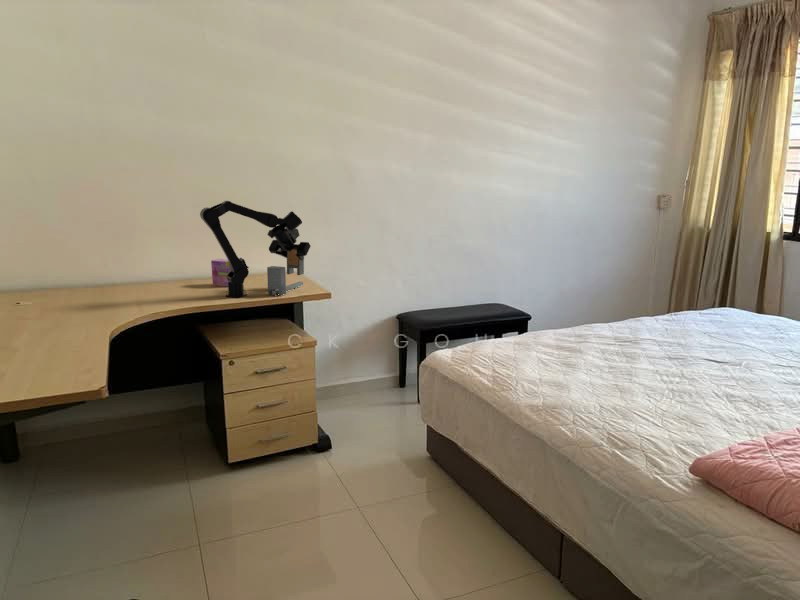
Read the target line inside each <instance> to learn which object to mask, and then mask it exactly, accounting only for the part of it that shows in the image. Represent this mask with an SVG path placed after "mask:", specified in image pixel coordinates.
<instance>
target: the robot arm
mask: <svg viewBox="0 0 800 600" xmlns="http://www.w3.org/2000/svg"><path fill="white" fill-rule="evenodd" d="M229 212H232V213H234V214H237V215H241V216H243V217H247V218H249V219H251V220H255V222H258V223H259V224H261V225H263V226H265V227H267V228H271V229H269V230H268V232H267V233H266V235H267V236H268V237H269V238H271V239H273V240H271V243H270V244H269V246H268V251H269V253H270V254H276V255H278V256H280V257H282V258H284V259H287V251H292V250H293V249H294V250H297V254H296V256H297V257H298V258H300V259H301V260H302V261H303V260H304V261H305V257H306V256H307V255H308V252H309V250H310V249H311V244H310V242H308V241H300V242H299V243H297V238H299V237H300V232H299V229H298V227H299V226H300V225H301V224H303V221H302V219H301V217H299V216H298V215H297V214H296V213H295V212H294V211H293V210H292V211H290V212H288V213H287V215H285V216H284V217H283V218H281V217H278V216H277V215H276V214H273V213H272V212H271V213H270V212H264V211H258V210H253V209H251V208H248V207H246V206H244V205H240V204H237V203H235V202H234V203H233V202H232V201H231V200H224V201H222V202H221V203H217V204H215V205H213V206H211V207H203V208H202V209H201V210H200V212H199V216H200V219H201V220H202V221H203V222H204V223H205V225H206V226H207V228H209V230H211V232H212V234H213V235H214V237H215V239H216V241H217V242H218V244H219V246H220V248H221V250H222V251H223V253H224V255H225V257H226V259H228V261H229V265H230V269H231V272H230V273H229V274H228V275H227V276H226V277H227V279H228V281H229V283H228V287H227V290H228V294H227V295H225V297H226V298H235V299H238V298H242V297H245V296H247V293H245V290H244V289H245V288H244V283H245V280H246V278H247V277H248V276H249V274H250V273H249V272H250V271H249V266H248V265H247V264H246V263H247V262H246V260H245V259H244V258H242V257H238V255H237V253H236V252H235V250H234V248H233V246H232V244H231V242H230V240H229V239H228V237H227V235H226V234H225V231H224V230H223V228H222V226H221V225H222V224H221V221H220V217H222V216H224V215H225V214H226V213H229ZM274 238H275V239H274ZM296 243H297V244H296Z"/></svg>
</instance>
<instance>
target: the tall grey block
mask: <svg viewBox="0 0 800 600" xmlns="http://www.w3.org/2000/svg"><path fill="white" fill-rule="evenodd" d="M266 270H267V271H266V273H267V276H266V277H267V295H268V294H270V295H269V296H272V295H271V294H272V291H273V290H276V289H279V295H283V294H286V295H287V292H286V286H287V283H286V282H287V281H286V275H287V274H286V266H280V265H279V266H277V265H271V266H267V267H266ZM279 295H278V296H279ZM283 296H284V295H283Z"/></svg>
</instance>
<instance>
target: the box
mask: <svg viewBox="0 0 800 600" xmlns="http://www.w3.org/2000/svg"><path fill="white" fill-rule="evenodd" d="M210 264H211V265H210V266H211V278H212V286H213V285H222V286H221V287H227V286H228V283H229V281H228V279H227V277H226V276H227V275H228V274H229V273H230V272H231V269H230V265H229V261H228V259H227V258H226V259H224V258H215V259H211V262H210Z"/></svg>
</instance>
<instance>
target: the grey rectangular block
mask: <svg viewBox="0 0 800 600" xmlns="http://www.w3.org/2000/svg"><path fill="white" fill-rule="evenodd" d="M296 254H297V250H294V249H293V250H292V251H287V258H286V275H292V274H294V273H295V272H294V270H295V269H296V272H297V273H296V275H297V276H301V275H304V273H305V265H304V263H305V259H304V260H303V261H302V260H301V259H300V258H298V257H297V256H296Z"/></svg>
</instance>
